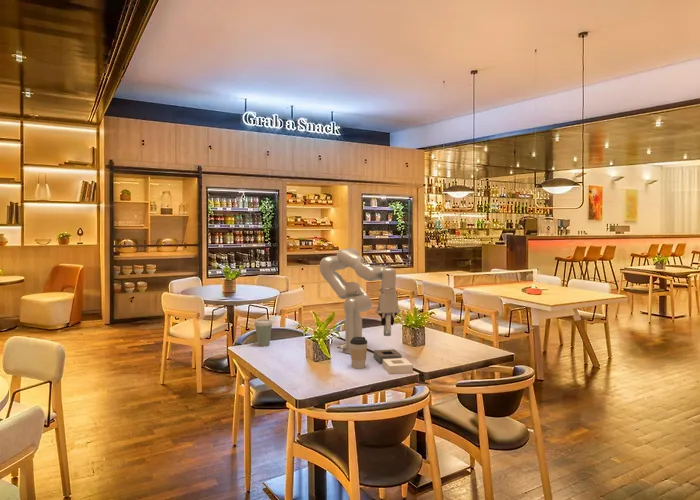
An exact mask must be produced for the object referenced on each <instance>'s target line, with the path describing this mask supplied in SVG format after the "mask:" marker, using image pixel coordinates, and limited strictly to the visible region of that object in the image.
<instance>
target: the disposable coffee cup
mask: <svg viewBox="0 0 700 500" xmlns="http://www.w3.org/2000/svg"><path fill="white" fill-rule="evenodd" d="M254 326H255V333H256V339H257V345H258V346H259V347H268V346H270V343H271V334H272V327H273V321H272V320H271V319H266V318H260V319H256V320H255V321H254Z"/></svg>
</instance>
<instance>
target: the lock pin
mask: <svg viewBox="0 0 700 500" xmlns="http://www.w3.org/2000/svg"><path fill="white" fill-rule="evenodd" d="M391 317H392V313H385V316H384V318H385V326H383V336H384V337H391V336H392V325H391Z"/></svg>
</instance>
